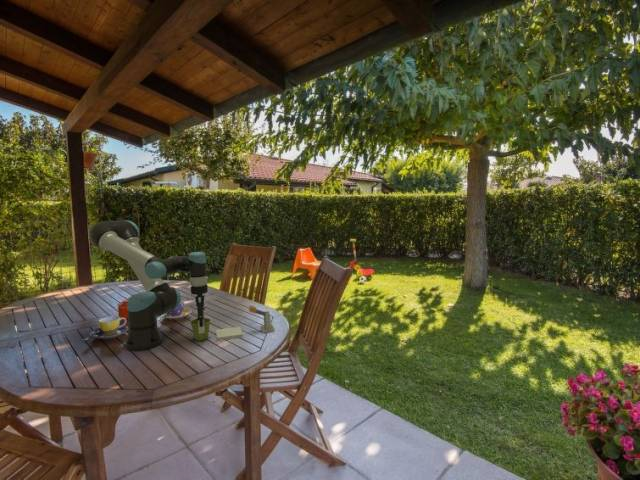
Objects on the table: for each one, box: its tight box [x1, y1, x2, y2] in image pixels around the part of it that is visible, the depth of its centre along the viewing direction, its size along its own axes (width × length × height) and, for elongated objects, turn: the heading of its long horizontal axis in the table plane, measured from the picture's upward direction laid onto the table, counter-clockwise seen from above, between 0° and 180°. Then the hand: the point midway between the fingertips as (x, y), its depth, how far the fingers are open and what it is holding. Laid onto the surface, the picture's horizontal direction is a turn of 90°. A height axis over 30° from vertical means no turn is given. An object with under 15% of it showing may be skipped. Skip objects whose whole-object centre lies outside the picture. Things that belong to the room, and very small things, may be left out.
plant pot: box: [189, 317, 212, 341], centre depth 165 cm, size 9×9×9 cm
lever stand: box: [259, 310, 276, 334], centre depth 175 cm, size 6×7×9 cm
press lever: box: [248, 305, 270, 317], centre depth 173 cm, size 10×4×2 cm, turn 109°
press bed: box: [215, 326, 244, 342], centre depth 169 cm, size 12×11×2 cm
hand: (201, 328), depth 165 cm, fingers open, 13 cm apart
